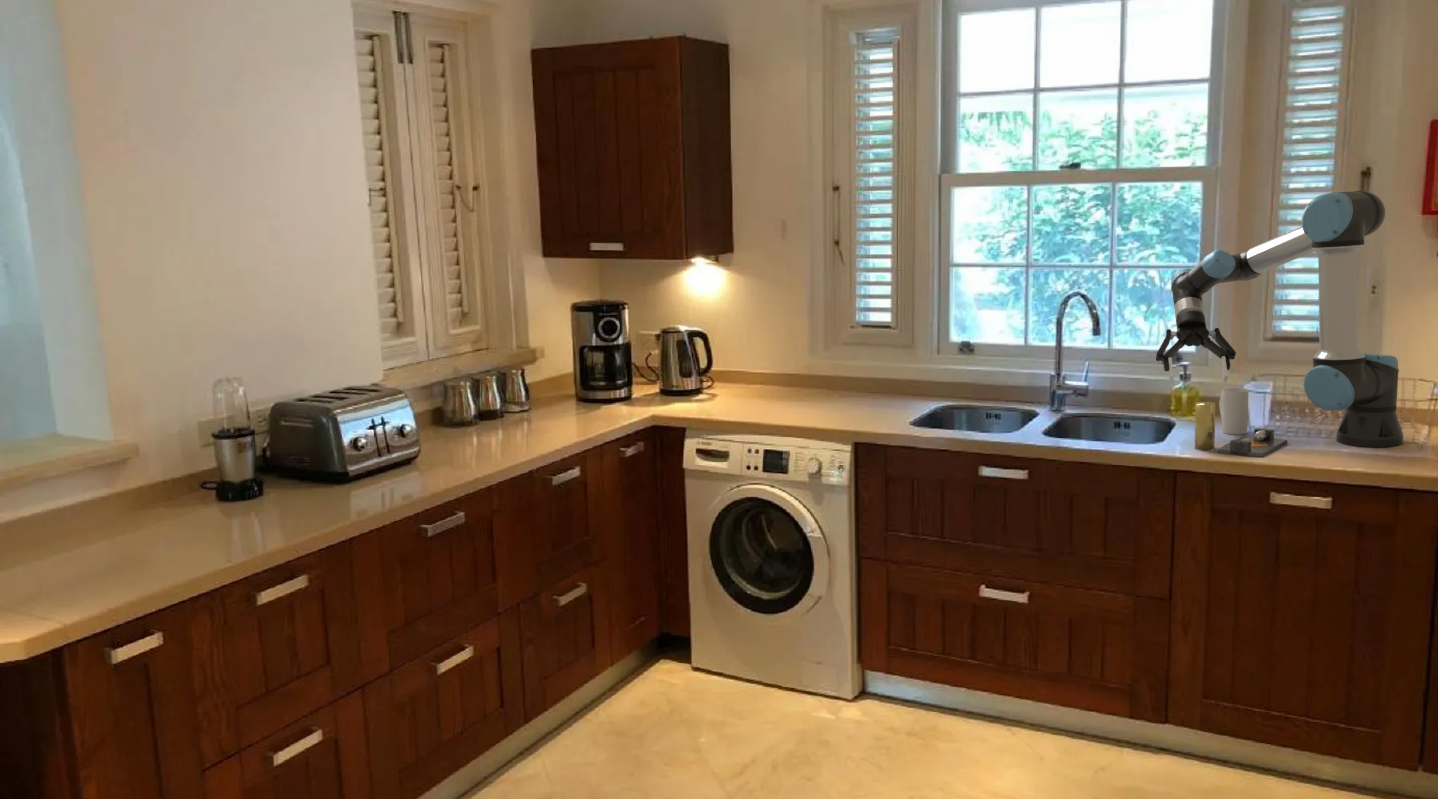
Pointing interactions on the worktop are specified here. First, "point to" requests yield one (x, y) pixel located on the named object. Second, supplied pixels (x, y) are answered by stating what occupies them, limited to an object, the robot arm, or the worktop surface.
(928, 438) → the worktop surface
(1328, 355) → the robot arm
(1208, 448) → the sleeve
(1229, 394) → the mug
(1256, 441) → the shaft bench
